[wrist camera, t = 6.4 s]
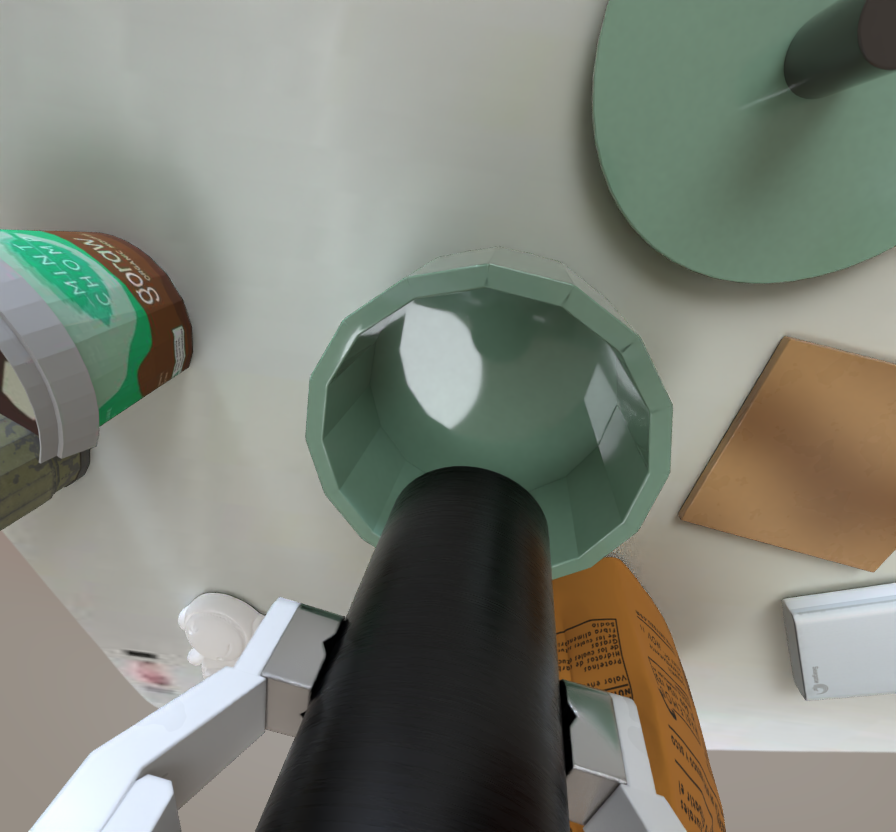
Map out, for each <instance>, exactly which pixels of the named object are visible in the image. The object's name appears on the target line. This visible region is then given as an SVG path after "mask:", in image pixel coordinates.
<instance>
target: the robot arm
mask: <svg viewBox="0 0 896 832" xmlns="http://www.w3.org/2000/svg"><path fill="white" fill-rule="evenodd" d="M344 622H345V616H341V615H338V614H335V613H332V612H328V611H325V610H322V609H318V608H315V607H312V606H308V605H305V604H302V603H299V602H296V601H292V600H289V599H285V598H282V597H279V598H278V599H277V600H276V601H275V602H274V603H273V604H272V606H271V607H270V609H269V611H268V612H267V614H266V615H265V617H264V619H263V620H262V622H261V623H260V625H259V627H258V628H257V630H256V632H255V633H254V635H253V636H252V638H251V640H250V641H249V643H248V644H247V646H246V648H245V649H244V651H243V652H242V654H241V656H240V657H239V659H238V660H237V662H236V664H235V665H234V667H233V668H232V667H228V666H225V667H224V668H222V669H221V670H219V671H217V672H216V673H214V674H213V675H211V676H210V677H208V678H206V679H205V680H203V681H202V682H200V683H199V684H197V685H196V686H194V687H192V688H191V689H189V690H188V691H186V692H185V693H183V694H181V695H180V696H178V697H177V698H175V699H174V700H172V701H170V702H169V703H167V704H166V705H164V706H163V707H161V708H160V709H158V710H156V711H155V712H153V713H152V714H150V715H149V716H147V717H145V718H144V719H142V720H141V721H139V722H138V723H136V724H135V725H133V726H131V727H130V728H128V729H127V730H125V731H124V732H122V733H120V734H119V735H117V736H116V737H114V738H113V739H111V740H110V741H108V742H106V743H105V744H103V745H102V746H100V747H98V748H97V749H95V750H94V751H92V752H91V753H90V754H89V755H88V757H87V758H86V759H85V760H84V762H83V763H82V764H81V765H80V767H79V768H78V769H77V771H76V772H75V773H74V774H73V776H72V777H71V778H70V779H69V781H68V782H67V783H66V785H65V786H64V787H63V788H62V790H61V791H60V792H59V793H58V795H57V796H56V797H55V799H54V800H53V801H52V802H51V804H50V805H49V806H48V808H47V809H46V810H45V811H44V812H43V814H42V815H41V816H40V818H39V819H38V820H37V821H36V823H35V824H34V825H33V826H32V828H31V829H30V830H29V832H181V826H180V821H179V816H178V810H179V809H180V808H181V807H182V806H183V805H184V804H185V803H187V802H188V801H189V800H190V799H191V798H192V797H193V796H194V795H195V794H197V793H198V792H199V791H200V790H201V789H202V788H203V787H204V786H205V785H207V784H208V783H209V782H210V781H211V780H212V779H213V778H214V777H216V776H217V775H218V774H219V773H220V772H221V771H222V770H223V769H225V768H226V766H228V765H229V764H230V763H231V762H232V761H234V760H235V759H236V758H237V757H238V756H239V755H240V754H241V753H242V752H244V751H245V750H246V749H247V748H248V747H249V746H250V745H251V744H253V743H254V742H255V741H256V740H257V739H258V738H259V737H260V736H262V735H263V734H264V733H265V729H266V730H270V731H274V732H277V733H281V734H285V735H289V736H292V737H295V736H296V734H297V732H298V729H299V727H300V724H301V722H302V720H303V717H304V715H305V713H306V710H307V708H308V706H309V704H310V702H311V699H312V697H313V695H314V692H315V690H316V688H317V685H318V683H319V681H320V678H321V676H322V674H323V671H324V669H325V666H326V663H327V661H328V659H329V656H330V654H331V652H332V650H333V648H334V645H335V643H336V641H337V638H338V636H339V633H340V631H341V629H342V626H343V624H344ZM559 682H560V696H561V710H562V724H563V738H564V752H565V766H566V780H567V794H568V808H569V821H571V822H574V823H577V824H580V825H583V826H584V827H583V830H584V832H687V831H686V829H685V828H684V826H683V825H682V823H681V822H680V820H679V819H678V817H677V816H676V814H675V812H674V811H673V809H672V808H671V806H670V805H669V803H668V802H667V800H666V799H665V797H664V796H661V795H658V794H656V790H655V785H654V781H653V777H652V772H651V768H650V763H649V759H648V754H647V750H646V746H645V741H644V737H643V732H642V728H641V723H640V719H639V715H638V710H637V706H636V704H635V703H634V701H633V700H632V699H630V698H628V697H624V696H621V695H617V694H613V693H610V692H607V691H605V690H601V689H598V688H594V687H590V686H587V685H583V684H579V683H576V682H572V681H568V680H564V679H561V680H559Z"/></svg>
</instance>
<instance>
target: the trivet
mask: <svg viewBox="0 0 896 832" xmlns="http://www.w3.org/2000/svg"><path fill="white" fill-rule="evenodd" d="M678 515H679V517H680V519H681V520H683V521H686V522H690V523H694V524H697V525H701V526H705V527H708V528H712V529H716V530H719V531H723V532H727V533H730V534H734V535H738V536H741V537H745V538H749V539H752V540H756V541H760V542H763V543H767V544H771V545H774V546H778V547H782V548H785V549H789V550H793V551H796V552H800V553H804V554H807V555H811V556H815V557H818V558H822V559H826V560H829V561H833V562H837V563H840V564H844V565H848V566H851V567H855V568H859V569H862V570H866V571H870V572H875V571H876V570H877V569H878V568H879V566H880V565H881V564H882V563H883V562H884V561H885V560H886V559H887V558H888V557H889V556H890V555H891V554H892V553H893V552H894V551H895V549H896V364H895V363H891V362H887V361H883V360H879V359H875V358H871V357H867V356H863V355H859V354H855V353H851V352H847V351H843V350H839V349H835V348H831V347H827V346H823V345H819V344H815V343H811V342H807V341H804V340H800V339H796V338H792V337H788V336H784V337H783V339H782V340H781V342H780V344H779V345H778V347H777V349H776V350H775V352H774V354H773V355H772V357H771V359H770V360H769V362H768V364H767V365H766V367H765V369H764V371H763V372H762V374H761V376H760V377H759V379H758V381H757V382H756V384H755V386H754V387H753V389H752V391H751V392H750V394H749V396H748V397H747V399H746V401H745V402H744V404H743V406H742V407H741V409H740V411H739V412H738V414H737V416H736V417H735V419H734V421H733V423H732V424H731V426H730V428H729V429H728V431H727V433H726V434H725V436H724V438H723V439H722V441H721V443H720V444H719V446H718V448H717V449H716V451H715V453H714V454H713V456H712V458H711V459H710V461H709V463H708V464H707V466H706V468H705V469H704V471H703V473H702V474H701V476H700V478H699V480H698V481H697V483H696V485H695V486H694V488H693V490H692V491H691V493H690V495H689V496H688V498H687V500H686V501H685V503H684V505H683V506H682V508H681V510H680V511H679V513H678Z"/></svg>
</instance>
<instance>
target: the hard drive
mask: <svg viewBox="0 0 896 832" xmlns="http://www.w3.org/2000/svg"><path fill="white" fill-rule="evenodd" d="M781 601H782V608H783V616H784V622H785V628H786V634H787V641H788V647H789V654H790V660H791V666H792V672H793V678H794V682H795V684H796V686H797V688H798V689H799V691H800V693H801V695H802V696H803V697H804V699H805V700H806V701H811V700H824V699H836V698H848V697H860V696H871V695H884V694H896V583H890V584H882V585H876V586H869V587H863V588H855V589H848V590H841V591H834V592H828V593H821V594H814V595H807V596H800V597H792V598H786V599H782V600H781Z"/></svg>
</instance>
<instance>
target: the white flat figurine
mask: <svg viewBox="0 0 896 832" xmlns="http://www.w3.org/2000/svg"><path fill="white" fill-rule="evenodd" d="M264 617H265V616H264V615H262V614H259V613H258V612H257V611H256V610H255V609H254V608H253V607H251V606H250V605H248V604H247V603H245V602H244V601H242V600H239V599H237V598H235V597H232V596H229V595H226V594H221V593H206V594H203V595H200V596H198V597H197V598H196V599H194V600H193V601H192V602H191V604H190V605H188V606H186V607H185V608H184V609H183V610H182V611H181V613H180V615H179V617H178V623H179V626H180V628H181V629H182V630H183V631H186V636H187V639H188V641H189V643H190V644H191V646H192V647H193V648H192V649H191V650H190V652H189V654H188V656H187V659H188V662H189V663H190V664H192V665H194V666H198V665H202V673H203V679H204V680H205V679H206V678H208V677H210V676H211V675H213V674H214V673H216V672H217V671H219V670H221V669H222V668H224V667H225V666H228V667H232V668H233V667H234V665H235V664H236V662H237V660H238V659H239V657H240V656H241V654H242V652H243V651H244V649H245V648H246V646H247V644H248V643H249V641H250V640H251V638H252V636H253V635H254V633H255V632H256V630H257V628H258V627H259V625H260V623H261V622H262V620H263V619H264Z"/></svg>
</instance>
